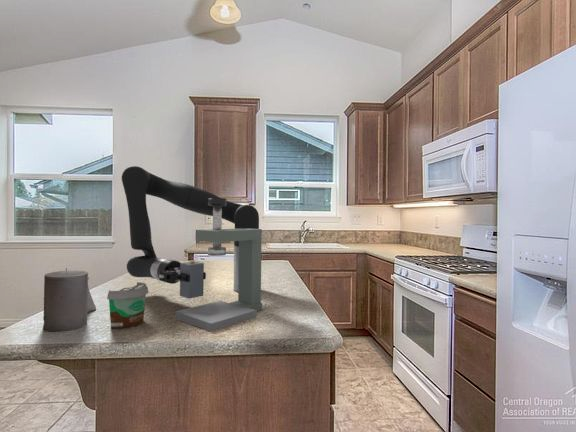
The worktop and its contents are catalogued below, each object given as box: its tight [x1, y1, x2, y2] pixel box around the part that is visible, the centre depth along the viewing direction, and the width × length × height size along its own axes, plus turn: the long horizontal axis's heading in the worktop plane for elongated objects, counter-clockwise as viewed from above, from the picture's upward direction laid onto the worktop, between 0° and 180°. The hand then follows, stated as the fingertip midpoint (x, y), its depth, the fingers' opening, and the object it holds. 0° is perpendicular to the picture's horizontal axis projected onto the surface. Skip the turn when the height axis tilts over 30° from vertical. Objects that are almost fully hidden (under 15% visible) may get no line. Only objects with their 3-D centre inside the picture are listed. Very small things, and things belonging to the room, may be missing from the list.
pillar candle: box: [42, 268, 89, 332], centre depth 88 cm, size 10×10×15 cm
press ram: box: [207, 197, 227, 257], centre depth 96 cm, size 5×5×16 cm
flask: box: [87, 276, 97, 313], centre depth 102 cm, size 7×7×10 cm
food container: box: [106, 281, 149, 330], centre depth 90 cm, size 12×6×10 cm, turn 168°
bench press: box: [175, 228, 263, 332], centre depth 99 cm, size 23×16×25 cm
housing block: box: [179, 259, 205, 299], centre depth 103 cm, size 5×5×11 cm
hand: (196, 277), depth 102 cm, fingers closed on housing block, 5 cm apart
